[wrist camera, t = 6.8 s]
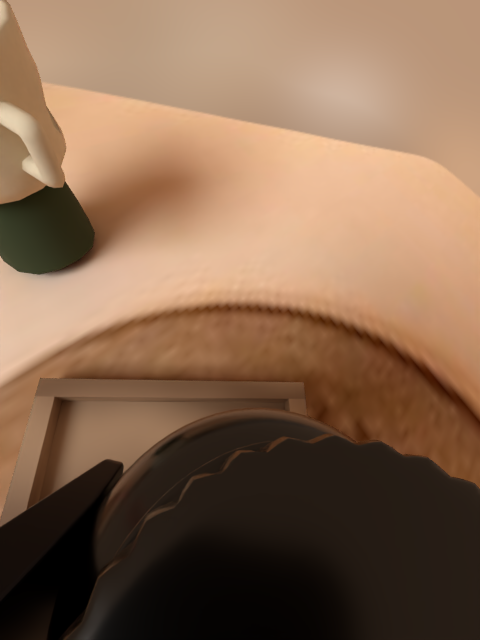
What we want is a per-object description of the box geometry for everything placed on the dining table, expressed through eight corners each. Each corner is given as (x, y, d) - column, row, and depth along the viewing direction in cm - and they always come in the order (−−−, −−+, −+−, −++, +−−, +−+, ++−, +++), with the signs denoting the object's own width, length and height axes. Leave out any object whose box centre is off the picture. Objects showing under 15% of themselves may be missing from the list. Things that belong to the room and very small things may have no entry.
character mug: (142, 251, 24) (89, 36, 12) (68, 318, 21) (-96, 114, 9) (38, 185, 25) (-93, -57, 14) (-44, 237, 22) (-301, -19, 11)
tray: (331, 734, 13) (346, 762, 12) (-52, 778, 12) (-84, 817, 10) (296, 388, 20) (303, 382, 19) (51, 385, 18) (40, 378, 17)
